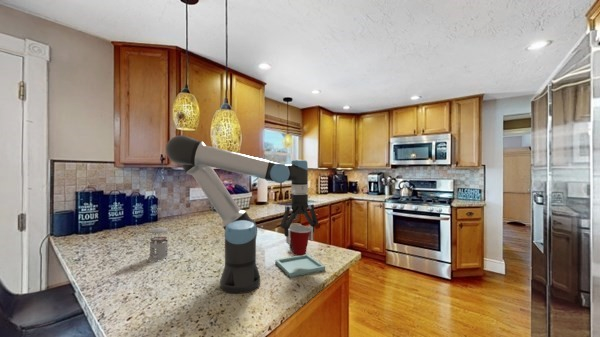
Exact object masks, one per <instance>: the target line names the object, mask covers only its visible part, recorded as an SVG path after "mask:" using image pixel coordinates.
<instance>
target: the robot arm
mask: <svg viewBox="0 0 600 337" xmlns="http://www.w3.org/2000/svg"><path fill="white" fill-rule="evenodd" d="M165 153H166V156H167V158H168V159H169V160H170V161H171V162H172V163H174V164H176V165H180V166H181V168H182V169H183V170H184V172H185V174H186V175H191V176H192V178H194V180H195V181H196V183H197V185H198V186H199V187H200V189H201V191H202V192H203V193H204V195H205V197H207V199H208V201H209V202H210V204H211V205H212V207H213V208H214V210H215V211H216V213H217V214H218V215H219V217H220V218H221V220H222V221H223V222H222V228H223V229H224V267H223V271H222V274H221V277H220V279H219V289H220V290H221V291H223V292H224V293H228V294H233V295H234V294H236V295H237V294H243V293H247V292H248V293H249V292H251V291H253V290H255V289H257V288H259V286H260V285H261V275H260V272H259V269H258V266H257V260H256V258H257V253H256V252H257V236H258V226H257V223H256V222H255V221H254V219H253V218H251V217H250V215H249V214H248V212H247V211H246V210H243V209H241V208H240V207H239V206H238V203H236V201H235V198H233V196H232V195H231V193H230V192H229V191H228V189H227V187H226V186H225V184H224V183H223V182H222V180H221V178H220V177H219V176H218V174H217V172H216V171H215V170H214V168H216V169H218V170H223V171H227V172H230V173H231V172H232V173H236V174H240V175H245V176H249V177H253V178H258V179H262V180H265V181H267V182H274V183H278V184H283V183H285V182H287V181H288V182H289V181H290V182H291V189H290V190H291V193H292V194H291V205H285V206H284V212H283V217H282V219H281V223H280V228H281V229H284V236H285V239H286V240H285V241H286V242H285V243H286V244H287V245H290V229H289V227H290V225H291V224H293V222H294V220H295V218H296V217H297V215H303V216H304V217H305V218H306V220H307V222H308V224H309V225H308V227H309V228H311V229H312V230H311V231H310V234H309V238H308V241H312V242H313V241H314V234H315V227H316V225H319V222H318V219H317V214H316V212H315V205H314V203H313V204H312V203H308V201H309V195H308V193H309V190H308V189H309V188H308V187H309V183H308V182H309V181H308V180H309V178H308V176H309V169H308V168H309V167H308V161H307V160H304V159H292V160H291V162H290V164H284V163H282V162H279V163H278V162H275V161H272V160H271V161H270V160H267V159H263V158H259V157H254V156H250V155H246V154H244V153H238V152H234V151H231V150H230V151H229V150H226V149H222V148H217V147H214V146H210V145H206V144H205V143H204V141H200V140H198V139H196V138H192V137H190V136H188V135H183V134H181V135H176V136H174V137H172V138H170V139H169V140H168V141H167V143H166V146H165ZM308 209H309V210H308ZM291 210H292V211H291ZM308 211H309V212H308ZM290 212H291V214H290ZM309 213H310V214H309Z"/></svg>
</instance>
